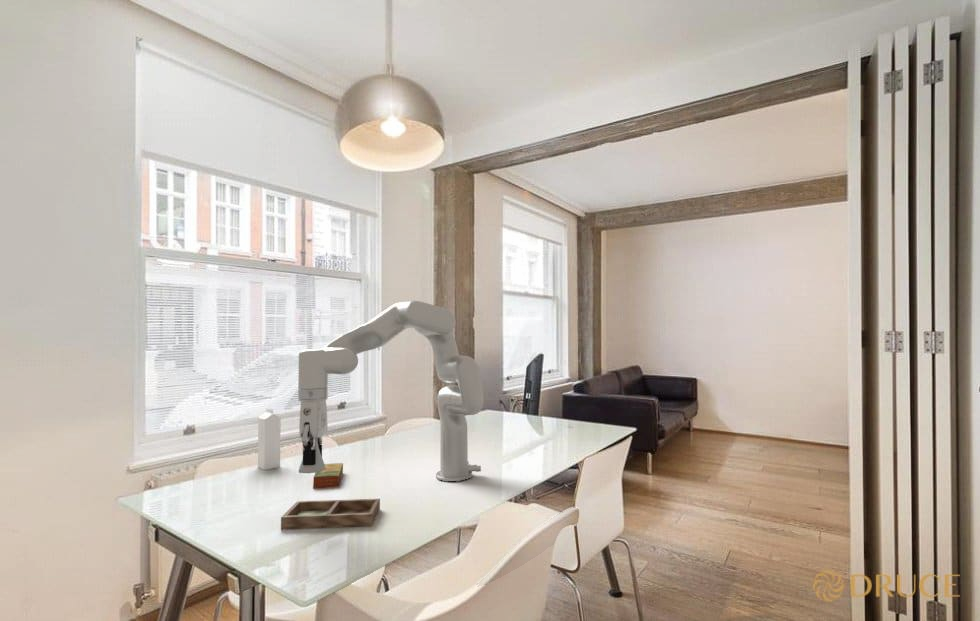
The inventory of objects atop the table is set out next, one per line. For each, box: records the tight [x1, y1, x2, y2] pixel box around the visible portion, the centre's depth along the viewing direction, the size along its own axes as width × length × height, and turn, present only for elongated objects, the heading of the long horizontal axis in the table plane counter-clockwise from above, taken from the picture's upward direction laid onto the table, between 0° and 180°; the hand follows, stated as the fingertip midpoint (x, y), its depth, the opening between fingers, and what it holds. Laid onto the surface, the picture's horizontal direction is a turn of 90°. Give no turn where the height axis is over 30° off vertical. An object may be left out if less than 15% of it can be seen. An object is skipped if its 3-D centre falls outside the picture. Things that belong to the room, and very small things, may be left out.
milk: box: [257, 408, 282, 471], centre depth 184 cm, size 6×6×22 cm
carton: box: [312, 462, 344, 490], centre depth 165 cm, size 8×16×4 cm, turn 13°
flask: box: [298, 436, 326, 474], centre depth 130 cm, size 7×7×10 cm
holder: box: [280, 498, 381, 530], centre depth 129 cm, size 23×12×3 cm, turn 93°
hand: (312, 461), depth 130 cm, fingers closed on flask, 4 cm apart
